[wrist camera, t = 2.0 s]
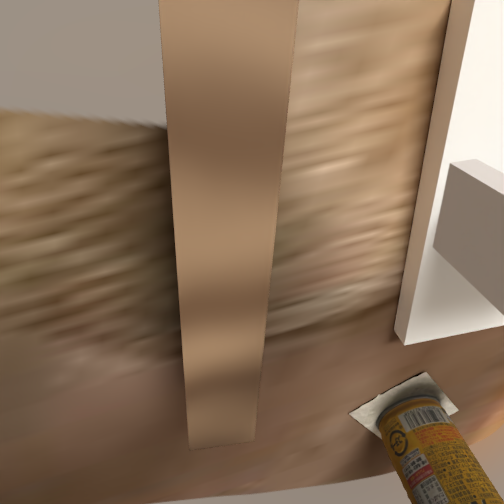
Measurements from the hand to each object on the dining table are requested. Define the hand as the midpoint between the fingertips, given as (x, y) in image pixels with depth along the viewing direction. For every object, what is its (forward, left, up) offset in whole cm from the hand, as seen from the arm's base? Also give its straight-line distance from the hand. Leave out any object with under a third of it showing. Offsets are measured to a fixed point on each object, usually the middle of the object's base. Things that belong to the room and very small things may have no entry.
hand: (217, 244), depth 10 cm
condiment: (+27, +14, -9) cm, 31 cm away
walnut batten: (+6, 0, -9) cm, 11 cm away
